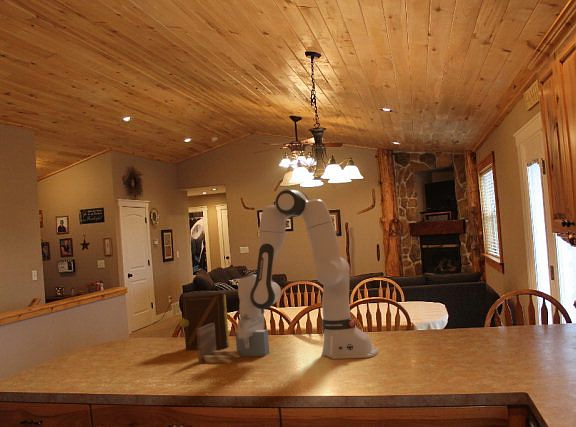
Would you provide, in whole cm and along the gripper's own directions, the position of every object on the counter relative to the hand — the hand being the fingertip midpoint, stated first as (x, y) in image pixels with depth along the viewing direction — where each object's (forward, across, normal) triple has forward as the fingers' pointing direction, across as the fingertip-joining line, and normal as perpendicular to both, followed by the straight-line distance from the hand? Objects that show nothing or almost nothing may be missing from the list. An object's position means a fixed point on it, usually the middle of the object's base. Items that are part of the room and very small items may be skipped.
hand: (252, 345), depth 227 cm
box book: (+4, 0, 0) cm, 4 cm away
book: (+4, +11, +29) cm, 31 cm away
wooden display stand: (+4, -9, +10) cm, 14 cm away
